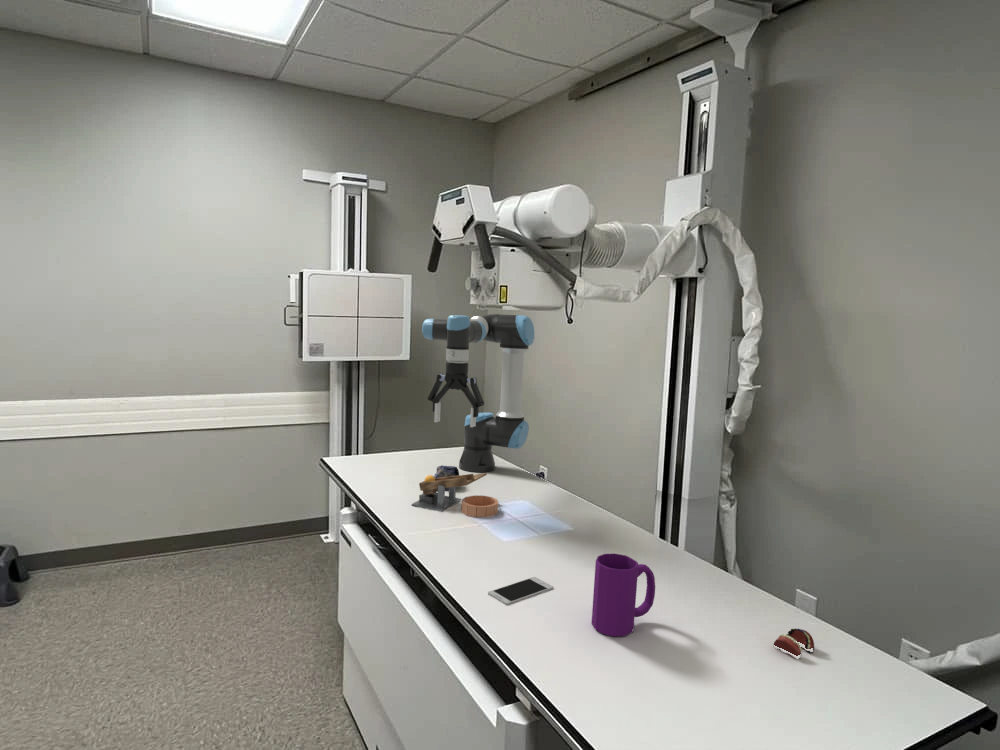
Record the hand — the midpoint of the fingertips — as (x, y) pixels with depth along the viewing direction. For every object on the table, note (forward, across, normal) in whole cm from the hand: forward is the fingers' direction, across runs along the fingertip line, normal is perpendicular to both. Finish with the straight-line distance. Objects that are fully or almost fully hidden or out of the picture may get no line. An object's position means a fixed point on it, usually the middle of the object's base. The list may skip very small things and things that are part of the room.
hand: (454, 424), depth 213 cm
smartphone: (+28, +46, -50) cm, 73 cm away
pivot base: (+28, -5, -2) cm, 28 cm away
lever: (+23, 0, +2) cm, 23 cm away
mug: (+28, +72, -54) cm, 94 cm away
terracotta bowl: (+28, +12, -2) cm, 30 cm away
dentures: (+28, +106, -47) cm, 119 cm away
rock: (+28, -12, +17) cm, 35 cm away
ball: (+20, -8, -2) cm, 22 cm away
